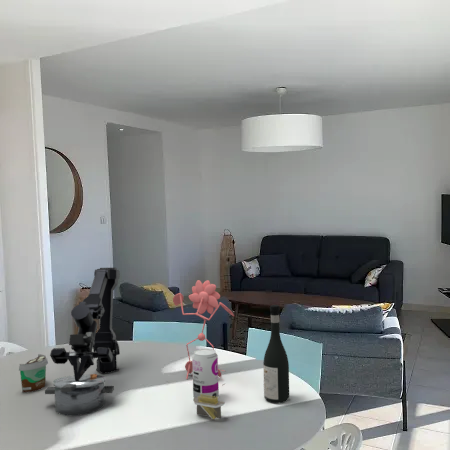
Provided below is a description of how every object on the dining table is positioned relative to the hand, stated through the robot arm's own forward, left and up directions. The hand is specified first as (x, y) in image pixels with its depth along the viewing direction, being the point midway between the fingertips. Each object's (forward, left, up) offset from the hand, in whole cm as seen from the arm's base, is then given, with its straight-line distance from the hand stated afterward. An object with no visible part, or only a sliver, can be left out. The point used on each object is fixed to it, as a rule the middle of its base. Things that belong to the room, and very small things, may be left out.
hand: (76, 380), depth 155 cm
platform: (-27, +32, -10) cm, 42 cm away
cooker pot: (-2, -2, -9) cm, 9 cm away
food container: (+3, -27, -9) cm, 29 cm away
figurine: (-48, +3, -9) cm, 49 cm away
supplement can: (-35, +20, -9) cm, 41 cm away
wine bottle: (-51, +36, -9) cm, 63 cm away
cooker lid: (0, 0, -1) cm, 1 cm away
